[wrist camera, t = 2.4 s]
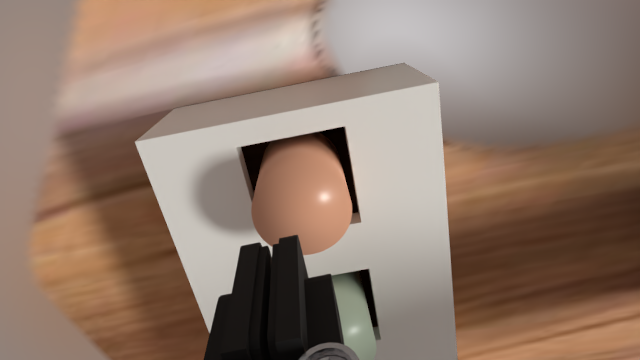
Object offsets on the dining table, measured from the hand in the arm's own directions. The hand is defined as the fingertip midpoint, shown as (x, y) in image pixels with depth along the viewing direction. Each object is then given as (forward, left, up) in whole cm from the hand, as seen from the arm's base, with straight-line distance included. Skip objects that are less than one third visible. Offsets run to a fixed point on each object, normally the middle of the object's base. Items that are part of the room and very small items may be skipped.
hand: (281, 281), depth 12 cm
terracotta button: (-1, 0, -10) cm, 10 cm away
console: (-1, +8, -13) cm, 15 cm away
